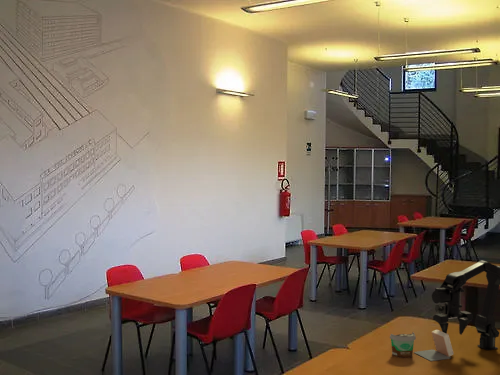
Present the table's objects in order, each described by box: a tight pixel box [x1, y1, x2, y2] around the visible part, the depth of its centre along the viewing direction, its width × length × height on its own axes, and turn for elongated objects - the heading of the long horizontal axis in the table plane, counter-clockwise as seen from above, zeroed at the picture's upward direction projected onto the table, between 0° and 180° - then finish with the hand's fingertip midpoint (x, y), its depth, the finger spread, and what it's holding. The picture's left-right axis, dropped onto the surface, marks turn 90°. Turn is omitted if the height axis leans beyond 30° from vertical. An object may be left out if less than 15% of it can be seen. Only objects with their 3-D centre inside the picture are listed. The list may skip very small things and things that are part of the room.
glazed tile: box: [431, 329, 454, 358], centre depth 249 cm, size 3×8×10 cm, turn 21°
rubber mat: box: [413, 349, 451, 362], centre depth 248 cm, size 11×12×1 cm
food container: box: [389, 331, 416, 359], centre depth 246 cm, size 12×6×10 cm, turn 105°
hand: (452, 335), depth 251 cm, fingers open, 9 cm apart
